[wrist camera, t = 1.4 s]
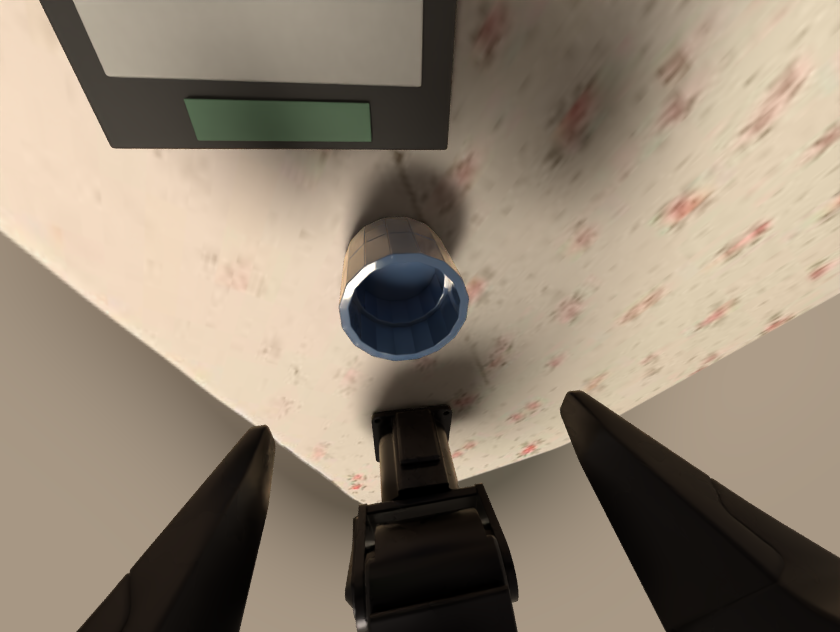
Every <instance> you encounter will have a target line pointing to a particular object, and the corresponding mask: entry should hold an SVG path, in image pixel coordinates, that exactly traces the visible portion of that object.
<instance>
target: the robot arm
mask: <svg viewBox="0 0 840 632" xmlns="http://www.w3.org/2000/svg"><path fill="white" fill-rule="evenodd" d="M560 413H561V417H562V419H563V422H564V424H565V427H566V429H567V432H568V435H569V437H570V440H571V442H572V445H573V447H574V450H575V452H576V455H577V457H578V459H579V462H580V464H581V466H582V468H583V470H584V472H585V474H586V476H587V478H588V480H589V482H590V484H591V486H592V487H593V490H594V492H595V494H596V495H597V497H598V499H599V501H600V503H601V505H602V507H603V509H604V511H605V513H606V515H607V517H608V519H609V521H610V523H611V525H612V526H613V529H614V531H615V533H616V535H617V537H618V538H619V540H620V543H621V545H622V546H623V548H624V550H625V552H626V554H627V556H628V558H629V560H630V562H631V564H632V566H633V568H634V570H635V572H636V574H637V576H638V578H639V580H640V582H641V584H642V586H643V588H644V590H645V592H646V593H647V595H648V597H649V599H650V601H651V603H652V605H653V607H654V609H655V611H656V613H657V615H658V617H659V619H660V621H661V623H662V625H663V627H664V629H665V631H666V632H840V558H839V557H837V556H836V555H834V554H832V553H831V552H829V551H827V550H826V549H824V548H822V547H821V546H819V545H817V544H816V543H814V542H812V541H811V540H809V539H807V538H806V537H804V536H802V535H801V534H799V533H797V532H796V531H794V530H793V529H791V528H789V527H788V526H786V525H784V524H782V523H781V522H779V521H778V520H776V519H774V518H773V517H771V516H770V515H768V514H766V513H765V512H763V511H761V510H760V509H758V508H757V507H755V506H754V505H752V504H750V503H749V502H747V501H746V500H744V499H743V498H741V497H740V496H738V495H737V494H735V493H734V492H732V491H730V490H729V489H728V488H726V487H725V486H723V485H721V484H720V483H719V482H717V481H716V480H714V479H712V478H710V477H709V476H708V475H707V474H705V473H704V472H702V471H701V470H699V469H698V468H696V467H694V466H693V465H692V464H690V463H689V462H687V461H686V460H684V459H683V458H681V457H680V456H678V455H677V454H675V453H674V452H672V451H671V450H669V449H668V448H666V447H665V446H663V445H662V444H661V443H659V442H658V441H656V440H654V439H653V438H651V437H650V436H649V435H647V434H646V433H644V432H643V431H641V430H640V429H638V428H637V427H635V426H634V425H632V424H631V423H629V422H628V421H626V420H625V419H623V418H622V417H620V416H619V415H617V414H616V413H614V412H613V411H611V410H610V409H609V408H607V407H606V406H604V405H603V404H601V403H600V402H598V401H597V400H595V399H594V398H592V397H591V396H589V395H588V394H586V393H585V392H583V391H580V390H577V391H569V392H568V393H567V394H566V396H565V398H564V400H563V403H562V405H561V408H560ZM451 417H452V410H451V407H450V406H448V405H443V406H434V407H425V408H416V409H407V410H398V411H389V412H380V413H375V414H373V415H372V429H373V438H374V447H375V456H376V461H377V462H380V477H381V497H382V502H381V503H375V504H370V505H367V504H361V505H359V511H358V512H359V513H358V516H356V517H355V518H354V519H353V543H352V552H351V558H350V564H349V570H348V576H347V582H346V588H345V599H346V601H347V602H348V603H349V605H350V606H351V607H352V608H353V613H354V617H355V620H356V627H357V632H517V627H516V621H515V616H514V611H513V607H512V602H516V601H518V585H517V578H516V573H515V569H514V564H513V561H512V557H511V553H510V550H509V547H508V544H507V542H506V539H505V537H504V534H503V532H502V529H501V527H500V524H499V522H498V520H497V517H496V515H495V512H494V510H493V508H492V505H491V503H490V500H489V498H488V495H487V493H486V491H485V488H484V486H483V484H482V483H479V484H475V485H474V486H471V487H464V488H459V485H458V481H457V476H456V472H455V468H454V464H453V460H452V456H451V452H450V448H449V444H448V440H449V433H450V425H451ZM274 457H275V441H274V439H273V436H272V434H271V431H270V429H269V427H268V426H267V425H261V426H253V427H251V428H250V429H249V430H248V431H247V432H246V433H245V434H244V436H243V437H242V438H241V439H240V440H239V441H238V443H237V444H236V445H235V446H234V447H233V449H232V450H231V451H230V452H229V453H228V454H227V456H226V457H225V458H224V459H223V460H222V462H221V463H220V464H219V465H218V466H217V467H216V469H215V470H214V471H213V472H212V474H211V475H210V476H209V477H208V478H207V479H206V481H205V482H204V483H203V484H202V485H201V486H200V488H199V489H198V490H197V491H196V492H195V494H194V495H193V496H192V497H191V498H190V499H189V501H188V502H187V503H186V504H185V505H184V507H183V508H182V509H181V510H180V512H178V514H177V515H176V516H175V517H174V518H173V520H172V521H171V522H170V523H169V524H168V526H167V527H166V528H165V529H164V530H163V532H162V533H161V534H160V535H159V536H158V537H157V539H156V540H155V541H154V542H153V543H152V544H151V546H150V547H149V548H148V549H147V550H146V552H145V553H144V554H143V555H142V556H141V557H140V559H139V560H138V561H137V562H136V563H135V565H134V566H133V567H132V568H131V570H130V573H128V574H126V575H125V576H124V577H123V579H122V580H121V581H120V582H119V583H118V585H117V586H116V587H115V588H114V589H113V590H112V592H111V593H110V594H109V595H108V596H107V597H106V599H105V600H104V601H103V602H102V603H101V605H100V606H99V607H98V608H97V609H96V610H95V611H94V612H93V614H92V615H91V616H90V617H89V618H88V619H87V620H86V622H85V623H84V624H83V625H82V626H81V627H80V628H79V630H78V631H77V632H239V630H240V626H241V622H242V617H243V613H244V609H245V604H246V600H247V596H248V592H249V588H250V583H251V579H252V575H253V570H254V566H255V562H256V558H257V554H258V549H259V545H260V541H261V536H262V532H263V528H264V524H265V519H266V515H267V510H268V505H269V498H270V489H271V482H272V474H273V465H274Z"/></svg>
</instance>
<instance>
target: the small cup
mask: <svg viewBox="0 0 840 632" xmlns="http://www.w3.org/2000/svg"><path fill="white" fill-rule="evenodd" d="M468 303H469V296H468V293H467V290H466V287H465V284H464V282H463V279H462V277H461V275H460V273H459V271H458V270H457V268H456V266H455V264H454V262H453V260H452V259H451V257H450V255H449V253H448V252H447V250H446V248H445V246H444V244H443V242H442V241H441V239H440V237H439V236H438V235H437V234H436V233H435V232H434V231H433V230H432V229H431V228H430V227H429V226H428V225H426V224H424V223H422V222H419V221H417V220H414V219H412V218H409V217H385V218H382V219H380V220H377V221H375V222H373V223H371V224H368V225H366V226H365V227H363V228H362V229H361V230H360V231H359V232H358V233H357V234H356V236H355V237H354V238H353V239H352V240H351V241H350V243H349V246H348V249H347V252H346V255H345V258H344V264H343V273H342V282H341V291H340V300H339V312H340V318H341V325H342V328H343V330H344V331H345V333H346V334H347V335H348V337H349V338H350V340H351V341H352V342H353V344H354V345H355V346H357V347H358V348H360V349H362V350H363V351H365V352H367V353H368V354H370V355H371V356H374V357H378V358H383V359H387V360H392V361H401V360H412V359H419V358H421V357H424V356H426V355H429V354H431V353H434V352H437V351H438V350H440V349H441V348H442V347H444V346H445V345H446V344H447V343H449V342H450V341H451V340H452V339H454V338H455V337H456V335H457V334H458V332H459V330H460V329H461V327H462V325H463V324H464V322H465V320H466V318H467V311H468Z"/></svg>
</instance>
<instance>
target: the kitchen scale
mask: <svg viewBox="0 0 840 632" xmlns="http://www.w3.org/2000/svg"><path fill="white" fill-rule="evenodd" d="M39 1H40V3H41V5H42V7H43V9H44V11H45V13H46V15H47V17H48V19H49V21H50V23H51V25H52V27H53V29H54V31H55V34H56V36H57V38H58V40H59V42H60V44H61V46H62V48H63V50H64V52H65V54H66V56H67V58H68V60H69V62H70V64H71V66H72V68H73V70H74V72H75V74H76V76H77V78H78V80H79V83H80V85H81V87H82V89H83V91H84V93H85V95H86V97H87V99H88V101H89V103H90V105H91V107H92V109H93V111H94V113H95V115H96V117H97V119H98V121H99V123H100V125H101V127H102V129H103V132H104V134H105V136H106V138H107V140H108V142H109V144H110V146H111V147H112V148H122V149H359V150H446V149H447V145H448V130H449V115H450V99H451V84H452V69H453V53H454V38H455V23H456V7H457V0H39Z"/></svg>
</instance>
